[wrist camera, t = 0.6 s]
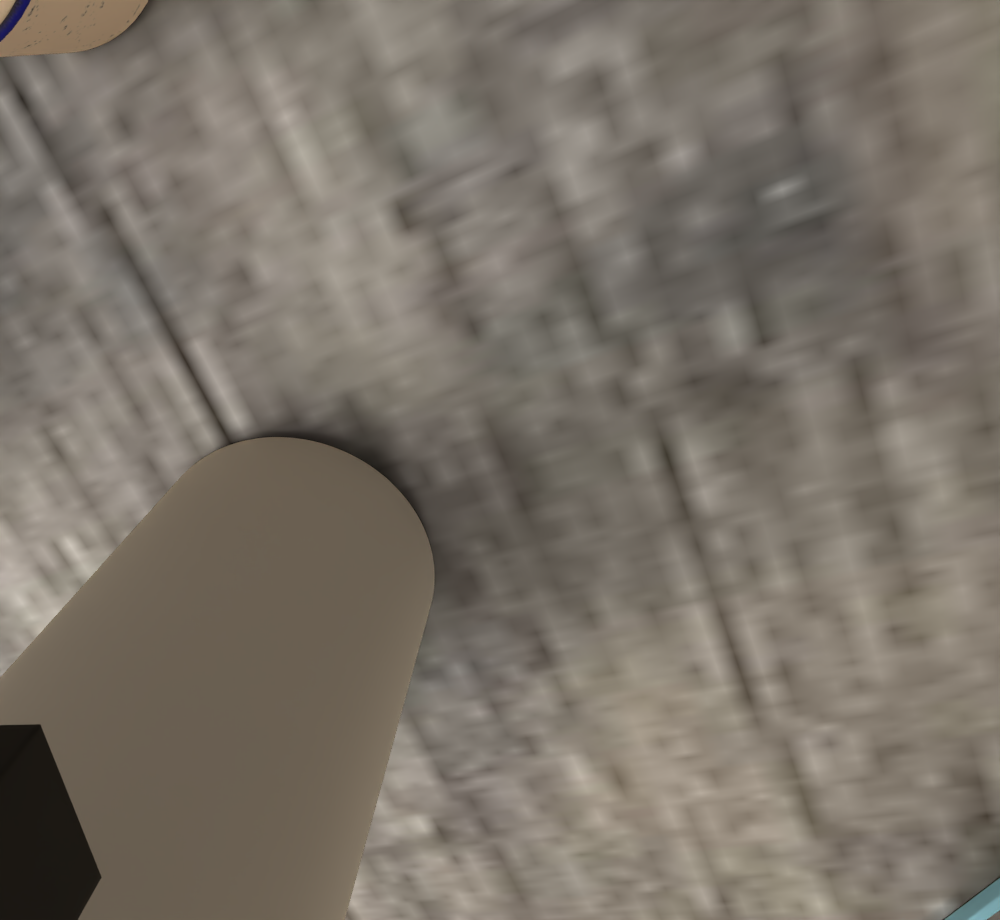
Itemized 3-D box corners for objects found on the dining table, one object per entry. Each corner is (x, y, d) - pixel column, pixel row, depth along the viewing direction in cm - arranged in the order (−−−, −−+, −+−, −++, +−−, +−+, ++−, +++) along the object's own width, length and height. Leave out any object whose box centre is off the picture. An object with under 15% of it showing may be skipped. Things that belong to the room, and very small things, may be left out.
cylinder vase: (479, 497, 40) (335, 1111, 18) (384, 704, 45) (179, 1380, 23) (202, 384, 39) (-330, 884, 16) (138, 610, 44) (-332, 1222, 22)
